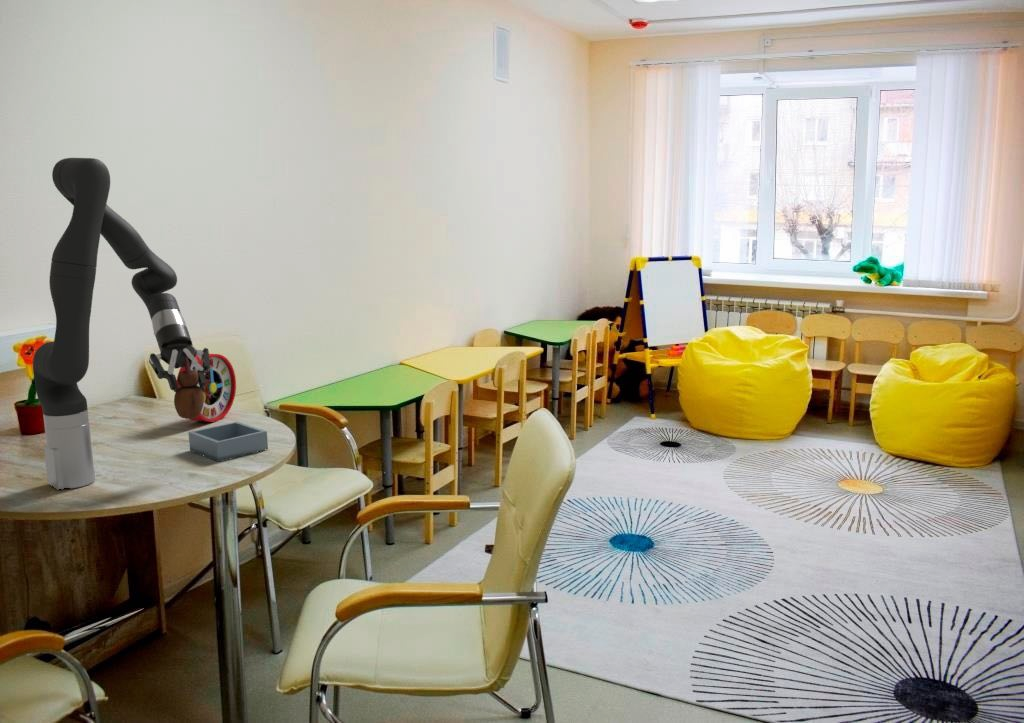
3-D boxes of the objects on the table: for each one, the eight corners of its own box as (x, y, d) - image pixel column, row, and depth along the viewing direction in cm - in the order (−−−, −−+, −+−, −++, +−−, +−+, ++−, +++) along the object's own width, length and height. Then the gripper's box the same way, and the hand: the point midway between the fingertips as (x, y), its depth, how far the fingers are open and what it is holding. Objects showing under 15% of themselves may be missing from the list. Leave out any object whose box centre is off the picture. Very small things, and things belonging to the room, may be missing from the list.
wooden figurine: (193, 421, 208) (190, 358, 206) (170, 419, 209) (168, 356, 207) (208, 414, 215) (206, 353, 212) (186, 413, 216) (184, 352, 213)
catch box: (218, 461, 223) (217, 442, 222) (190, 450, 233) (188, 432, 232) (268, 449, 233) (266, 431, 232) (238, 439, 243) (237, 421, 242)
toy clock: (195, 429, 253) (189, 360, 250) (178, 428, 255) (172, 359, 251) (238, 412, 272) (233, 348, 268) (222, 411, 274) (217, 347, 270)
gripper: (142, 325, 210) (160, 383, 202) (203, 320, 218) (223, 375, 211) (138, 344, 215) (156, 401, 208) (198, 338, 223) (217, 393, 216)
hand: (189, 388), depth 209 cm, fingers closed on wooden figurine, 5 cm apart
